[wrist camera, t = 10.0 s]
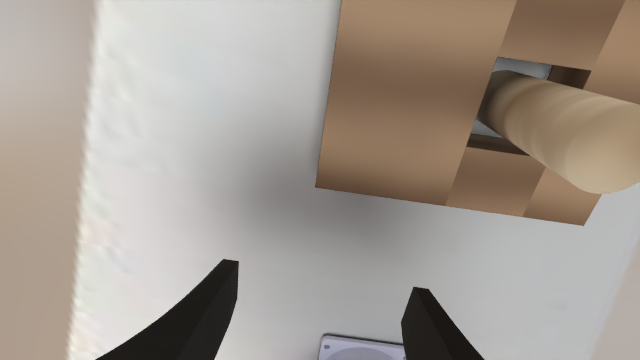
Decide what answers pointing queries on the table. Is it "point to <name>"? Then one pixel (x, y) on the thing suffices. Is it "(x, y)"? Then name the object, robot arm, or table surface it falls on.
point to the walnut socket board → (463, 97)
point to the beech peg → (566, 129)
